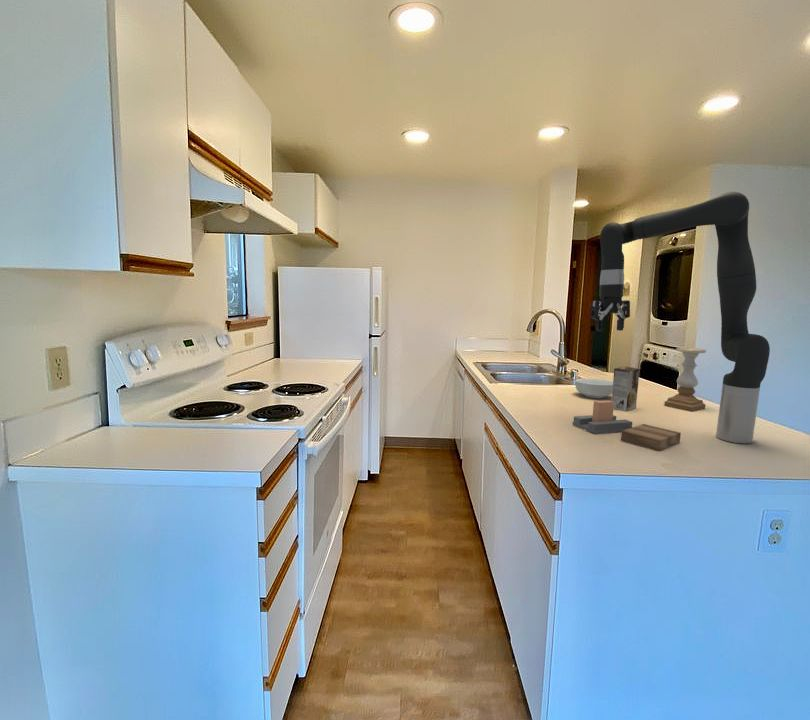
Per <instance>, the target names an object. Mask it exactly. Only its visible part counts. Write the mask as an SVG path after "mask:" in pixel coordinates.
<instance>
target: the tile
mask: <svg viewBox="0 0 810 720" xmlns="http://www.w3.org/2000/svg"><path fill="white" fill-rule="evenodd" d="M613 408H614V402H612V401H611V400H593V407H592V415H593V417H592V422H597V421H611V420H612V419H613V415H614V409H613Z"/></svg>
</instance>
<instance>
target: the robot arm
mask: <svg viewBox="0 0 810 720" xmlns="http://www.w3.org/2000/svg"><path fill="white" fill-rule="evenodd" d="M749 211H750V201H749V199H748V198H747V196H746V195H745V194H744V193H741V192H738V191H728V192H724V193H722V194H721V195H719V196H716V197H713V198H711V199H708V200H705V201H703V202H700V203H697V204H693V205H690V206H686V207H682V208H677V209H672V210H667V211H662V212H657V213H651V214H647V215H644V216H640V217H637V218H635V219H634V220H633V221H628V222H624V223H618V222H614V221H613V222H609V223H606V224H605V225H604V226H603V227H602V229H601V231H600V235H599V236H600V237H599V238H600V239H599V243H600V252H601V264H600V265H601V266H600V268H601V269H600V275H599V276H600V277H599V290H598V291H599V295H598V296H599V298H600V300H592V301H591V306H590V307H591V308H590V316H589V317H590V319H593V320H594V321H595V324H594V325H595V326H594V327H595V330H596V332H602V331H603V319H604V317H606V316H607V315H608V314H614V316H616V318H617V320H616V331H618V332H619V331H621V332H622V331H623V330H624V328H625V320H626V319H627V318H628V319H629V318H630V316H631V302H630V300H627V299H626V300H625V299H624V300H623V299H622V298H623V297H624V289H625V287H624V286H625V254H624V252H623V245H626V244H629V243H632V242H635V241H637V240H639V241H640V240H643V239H644V240H645V239H648V238H649V239H650V238H655V237H660V236H663V235H666V234H667V235H668V234H671V233H674V232H678V231H680V230H681V231H682V230H686V229H691V228H697V227H702V226H715V228H714V229H715V232H716V237H717V245H718V246H717V247H718V249H717V257H716V259H717V260H716V278H717V280H716V281H717V289H718V294H719V295H718V297H719V305H720V307H719V308H720V316H721V328H720V329H721V333H720V338H721V339H720V350H721V353H722V355H723V356H724V358H726V360H728V361H731V362H734V366H733V370H732V371H731V372H729V373H726V374H724V375H723V377H722V384H721V385H722V386H721V395H720V402H719V403H720V404H719V409H718V410H719V411H718V418H717V424H716V426H717V427H716V433H715V437H716V438H718V439H720V440H722V441H726V442H730V443H733V444H734V443H735V444H746V445H747V443H748V444H752V443H753V441H754V440H753V439H754V434H755V427H756V420H757V412H758V405H759V399H760V398H759V397H760V389H761V384H762V382H763V380H764V379H765V376H766V373H767V368H768V364H769V358H770V352H771V351H770V350H771V347H770V344H769V341H768V340H767V338H766V337H764V336H763V335H760V334H756V333H755V334H754V333H749V329H748V312H749V309H750V306H751V305H752V303H753V300H754V298H755V296H756V292H757V273H756V266H755V262H754V257H753V252H752V248H751V245H750V241H749V240H750V239H749V213H750V212H749Z"/></svg>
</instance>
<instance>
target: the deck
mask: <svg viewBox="0 0 810 720" xmlns="http://www.w3.org/2000/svg"><path fill="white" fill-rule="evenodd" d="M681 434H682V433H681V432H680V431H676V430H671V429H666V428H662V427H658V426H655V425H654V426H653V425H651V424H650V425H649V424H645V423H643V424H639V425H636V426H632V428H630V429H627V430H623V431H622V432H621V434H620V441H621V442H625V443H627V444H628V443H629V444H632V445H635V446H640V447H644V448H646V449H650V450H653V451H657V452H660V451H662V450H665V449H666V448H669V447H672V446H674V445H676V444H678V443H681Z"/></svg>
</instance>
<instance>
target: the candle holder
mask: <svg viewBox="0 0 810 720" xmlns="http://www.w3.org/2000/svg"><path fill="white" fill-rule="evenodd" d="M675 350H676V351H677V352H680V353H682V356H683V358H684V361H682V363H681V366H682V368H683V371H682V372H681V374H680V375H679V376H678V377H677V379H676V383H677V385H679V387H678V388H677V392H678V393H677V394H675V395H673V396H671V397H668V398H667V400H665V401H664V403H663V406H664V407H668V408H672V409H677V410H683V411H686V412H687V411H688V412H697V411H700V410H701V411H702V410H705V409H706V404H705V403H704V402H703V399H699V398H697V397H696V396H694V395H695V394H696V390H695V389H694V388H695V387H697V386H698V385H699V380H698V379H697V377H696V374H695V372H694V369H696V367H697V366H698V364H696V358H697V357H699V355H700V354H706V352H707V350H706V349H704V348H693V347H676V348H675Z"/></svg>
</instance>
